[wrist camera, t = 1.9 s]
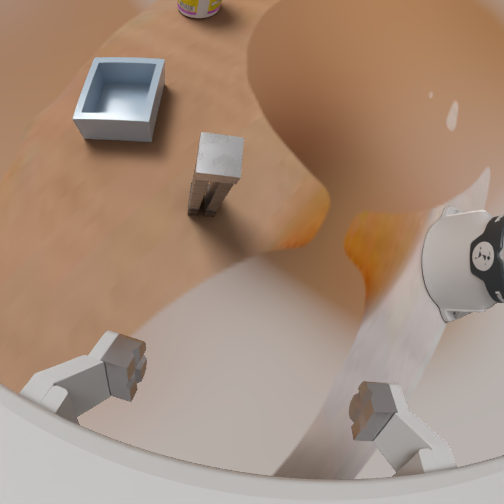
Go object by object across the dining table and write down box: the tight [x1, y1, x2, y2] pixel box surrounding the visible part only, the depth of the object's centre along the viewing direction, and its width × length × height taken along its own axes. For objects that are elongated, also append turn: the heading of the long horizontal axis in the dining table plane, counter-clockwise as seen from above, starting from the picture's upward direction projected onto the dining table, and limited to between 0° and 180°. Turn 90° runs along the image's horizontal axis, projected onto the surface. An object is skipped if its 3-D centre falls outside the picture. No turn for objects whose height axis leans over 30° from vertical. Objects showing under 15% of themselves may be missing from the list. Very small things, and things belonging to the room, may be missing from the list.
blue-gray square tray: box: [73, 57, 165, 142], centre depth 30 cm, size 9×9×5 cm
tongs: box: [188, 132, 244, 217], centre depth 27 cm, size 3×3×14 cm
